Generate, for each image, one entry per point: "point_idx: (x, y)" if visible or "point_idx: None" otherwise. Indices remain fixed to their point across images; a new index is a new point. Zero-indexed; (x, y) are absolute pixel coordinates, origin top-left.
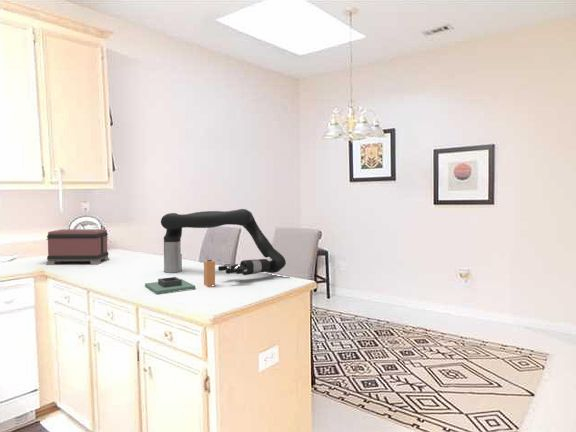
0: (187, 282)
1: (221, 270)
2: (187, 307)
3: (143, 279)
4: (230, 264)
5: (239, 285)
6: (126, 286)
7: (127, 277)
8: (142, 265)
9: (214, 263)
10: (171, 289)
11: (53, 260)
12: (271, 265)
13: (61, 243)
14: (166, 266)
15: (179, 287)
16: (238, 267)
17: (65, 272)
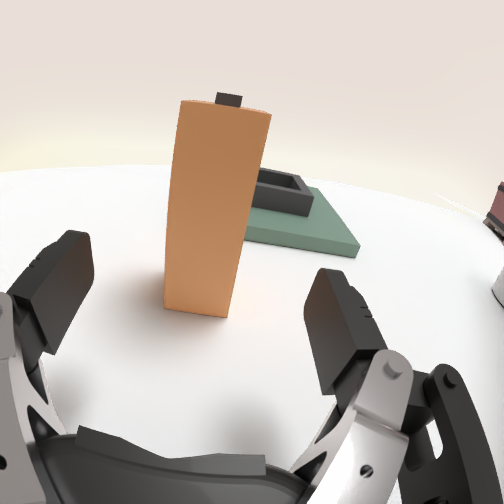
0: (275, 228)
1: (310, 336)
2: (45, 168)
3: (406, 227)
4: (384, 436)
5: None
6: (331, 189)
7: (425, 224)
8: None
9: (178, 121)
10: None
11: (488, 219)
12: None
13: (501, 200)
14: (502, 269)
15: None
16: (7, 465)
17: (449, 210)
